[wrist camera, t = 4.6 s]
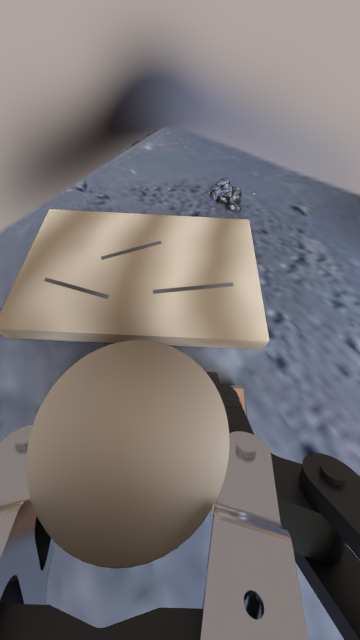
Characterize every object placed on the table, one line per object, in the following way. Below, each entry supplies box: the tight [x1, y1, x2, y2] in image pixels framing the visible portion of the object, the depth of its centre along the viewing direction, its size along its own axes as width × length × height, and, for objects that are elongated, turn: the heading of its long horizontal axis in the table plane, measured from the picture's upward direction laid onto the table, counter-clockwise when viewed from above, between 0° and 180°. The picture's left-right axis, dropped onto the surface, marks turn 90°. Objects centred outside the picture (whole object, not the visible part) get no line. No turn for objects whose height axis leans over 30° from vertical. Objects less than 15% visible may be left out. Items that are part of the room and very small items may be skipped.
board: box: [0, 209, 269, 350], centre depth 18 cm, size 18×12×2 cm, turn 88°
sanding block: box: [26, 340, 247, 568], centre depth 9 cm, size 10×6×10 cm, turn 88°
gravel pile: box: [209, 178, 255, 212], centre depth 25 cm, size 7×8×2 cm
